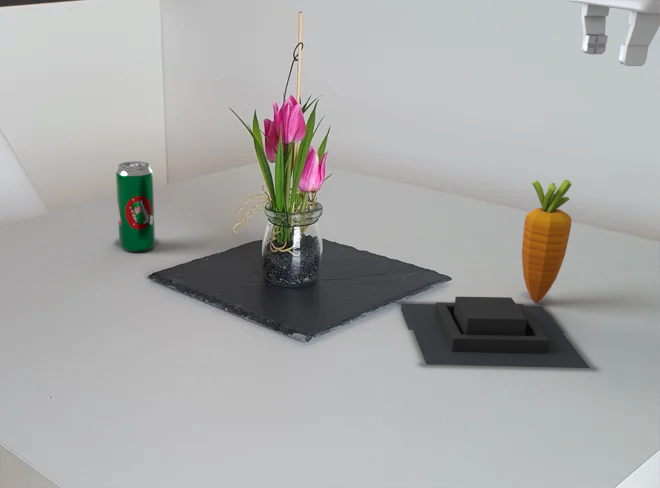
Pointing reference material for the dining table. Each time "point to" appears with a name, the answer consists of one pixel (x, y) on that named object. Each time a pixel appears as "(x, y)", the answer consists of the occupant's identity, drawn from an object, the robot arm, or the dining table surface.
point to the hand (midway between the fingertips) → (610, 59)
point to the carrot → (545, 240)
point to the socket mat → (489, 340)
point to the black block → (489, 316)
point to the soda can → (135, 206)
